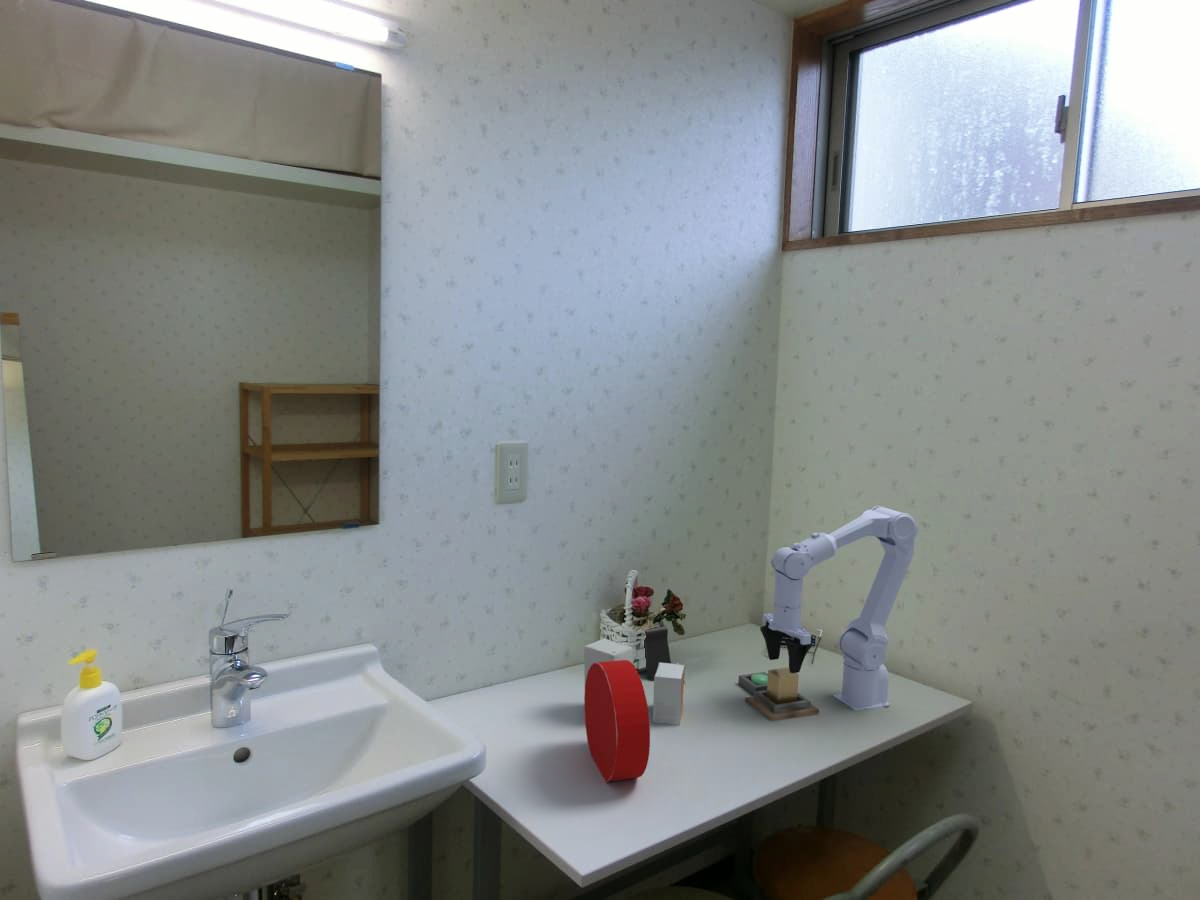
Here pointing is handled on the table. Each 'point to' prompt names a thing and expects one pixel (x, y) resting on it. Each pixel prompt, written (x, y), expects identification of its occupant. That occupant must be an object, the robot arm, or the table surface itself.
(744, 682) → the button housing
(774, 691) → the block
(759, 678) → the button
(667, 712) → the small box
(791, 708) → the framed wooden tray
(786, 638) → the smart glasses
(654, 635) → the phone stand
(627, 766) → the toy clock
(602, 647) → the skincare box
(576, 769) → the table surface
